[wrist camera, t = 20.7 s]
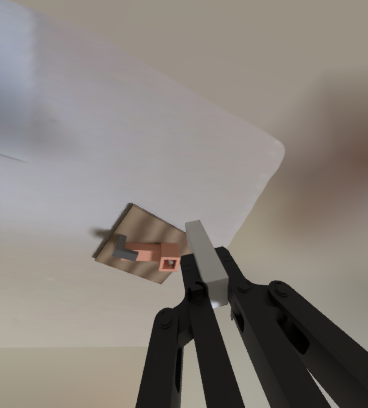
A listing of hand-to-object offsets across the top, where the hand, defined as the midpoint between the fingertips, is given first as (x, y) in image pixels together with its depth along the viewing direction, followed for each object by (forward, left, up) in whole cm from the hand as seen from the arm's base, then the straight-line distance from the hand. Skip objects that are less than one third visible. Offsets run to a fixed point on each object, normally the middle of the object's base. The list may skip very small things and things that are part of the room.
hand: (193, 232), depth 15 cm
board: (+9, -24, -26) cm, 37 cm away
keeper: (+2, -23, -26) cm, 35 cm away
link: (+9, -23, -25) cm, 35 cm away
